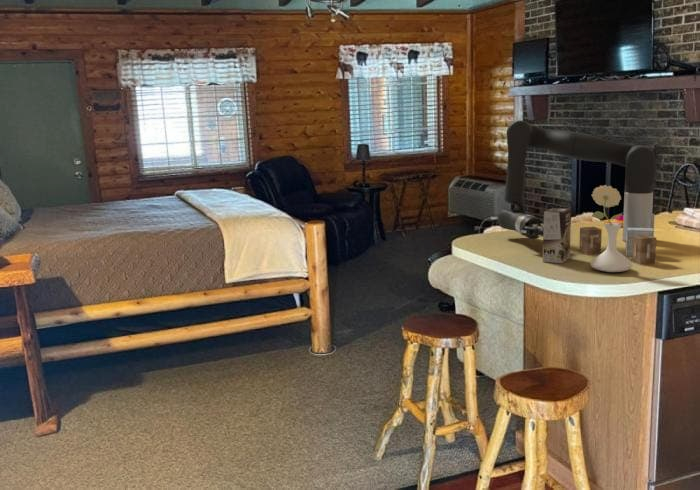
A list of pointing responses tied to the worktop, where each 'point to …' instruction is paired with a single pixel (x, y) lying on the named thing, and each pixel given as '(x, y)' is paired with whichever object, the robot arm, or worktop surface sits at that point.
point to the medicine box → (634, 232)
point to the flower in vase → (609, 233)
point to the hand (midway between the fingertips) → (550, 234)
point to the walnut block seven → (590, 240)
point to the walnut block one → (643, 249)
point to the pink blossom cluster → (616, 220)
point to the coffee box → (556, 235)
